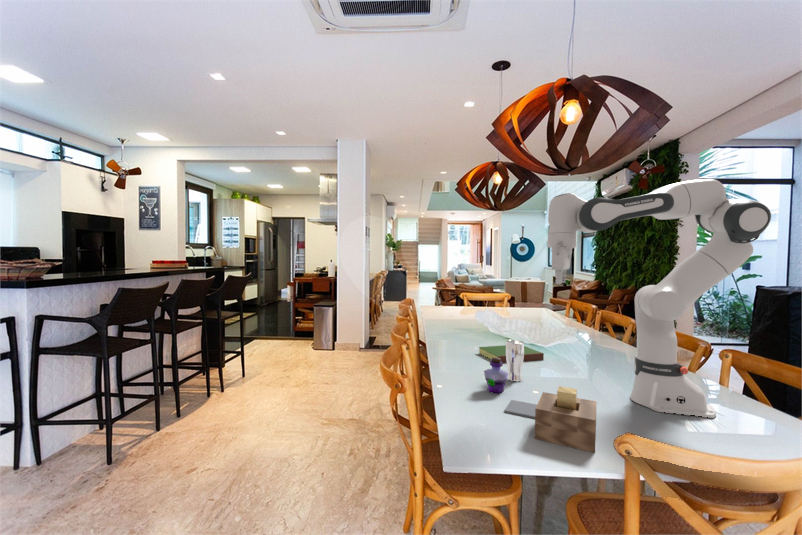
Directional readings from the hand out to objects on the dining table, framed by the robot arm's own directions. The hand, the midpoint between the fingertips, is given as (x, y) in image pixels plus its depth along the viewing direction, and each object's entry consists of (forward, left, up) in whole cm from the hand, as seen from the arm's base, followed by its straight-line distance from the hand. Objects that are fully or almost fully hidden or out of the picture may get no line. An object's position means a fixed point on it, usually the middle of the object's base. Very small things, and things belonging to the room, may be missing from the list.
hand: (560, 283), depth 124 cm
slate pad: (+8, +15, -40) cm, 43 cm away
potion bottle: (+20, +3, -40) cm, 45 cm away
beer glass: (+17, -14, -40) cm, 45 cm away
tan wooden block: (-5, +26, -36) cm, 44 cm away
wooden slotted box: (-5, +26, -40) cm, 48 cm away
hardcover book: (+26, -49, -40) cm, 68 cm away
